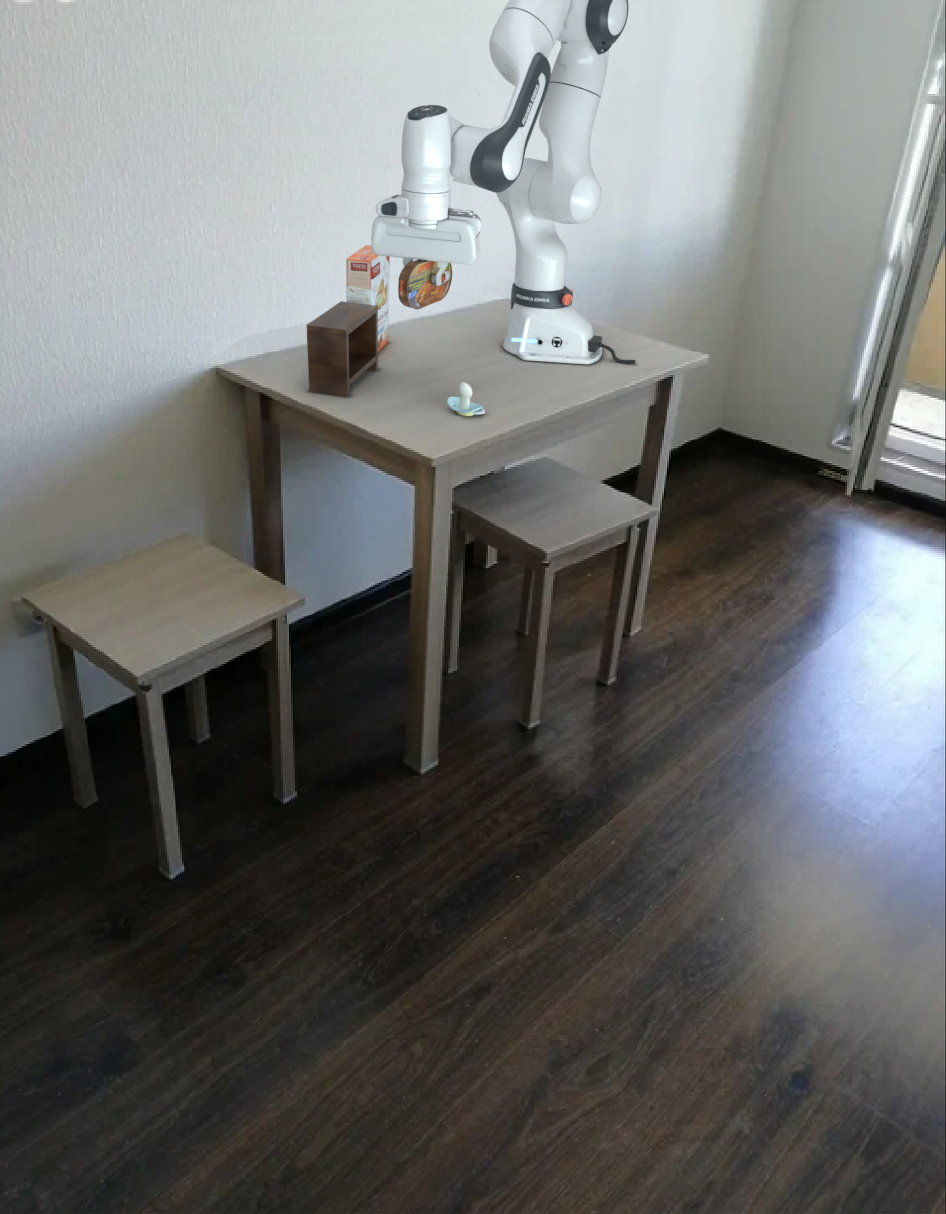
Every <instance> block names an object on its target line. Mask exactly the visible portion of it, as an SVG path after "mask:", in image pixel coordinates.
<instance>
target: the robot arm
mask: <svg viewBox="0 0 946 1214" xmlns="http://www.w3.org/2000/svg"><path fill="white" fill-rule="evenodd" d="M628 16H629V0H509V1H508V2H507V3H506V5H505V7H504V9H503V10H502V12H501V14H500V16H499V17H498V19H497V21H496V23H495V25H494V27H493V29H492V31H491V34H490V37H489V41H488V48H489V55H490V58H491V61H492V64H493V65H494V67H495V69H496V70H497V71H498V73H499V74H500V75H501V76H502V77H503V79H504V80H506V81H507V82H508V83H509V84H511V85H512V86H513V87H514V91H513V93H512V95H511V98H510V101H509V103H508V106H507V108H506V111H505V113H504V116H503V119H502V121H501V123H500V124H497V126H494V127H490V128H485V127H480V126H479V127H478V126H472V125H468V124H464V123H463V122H460V121H459V120H457V119H456V118H454V117H453V116H452V115H451V114H450V112H449V110H448V108H447V107H445V106H443V105H440V104H429V105H427V104H426V105H419V106H416V107H414V108H412V109H410V110H409V111H408V112H407V113H406V114H405V118H404V121H403V125H402V135H401V165H402V169H403V178H402V182H401V194H395V195H392V196H389V197H386V198H384V199H382V200H380V201H378V203H376V204H375V212H376V214H377V216H376V217H375V218H374V219H373V222H372V227H371V237H370V243H371V244H370V246H371V249H372V251H373V252H374V254H375V255H380V256H390V258H399V259H400V258H401V259H402V265H403V268H404V267H405V265H407V264H408V263H410V262H413V261H414V260H427V261H437V267H438V268H440V270H439V271H438V273H437V274H433V275H432V277H431V280H432V282H431V285H434V286H440V285H441V275H442V274H443V272H444V271H445V269H446V267H447V266H448V263H451V264H457V265H466V266H472V265H473V264H475V263H476V262H477V261H478V260H479V258H480V238H479V235H480V234H481V231H482V230H481V229H482V228H481V227H482V220H481V217H480V216H479V215H478V214H477V213H475V212H474V211H473V210H469V209H466V210H464V209H459V208H451V189H452V187H451V183H450V181H452V182H455V183H459V184H463V185H468V186H473V187H477V188H480V189H483V190H486V191H489V192H492V193H495V194H496V197H497V199H498V201H499V202H500V204H501V205H502V206H503V208H504V210H505V211H506V213H507V216H508V219H509V221H510V224H511V228H512V233H513V237H514V243H515V245H514V246H515V266H514V267H515V268H514V282H513V283H512V285H511V290H510V302H509V303H510V304H509V305H510V318H509V323H508V327H507V331H506V335H505V337H504V340H503V343H502V348H503V350H505V351H507V352H509V353H510V354H512V355H516V356H517V357H518V358H519V359H521V360H523V361H532V362H545V363H559V364H576V365H591V364H594V363H596V362H598V361H599V360H600V359H601V358H602V355H603V349H605V350H607V351H608V352H610V354H611V357H612V359H613V361H615V362H617V363H618V364H632V365H633V364H636V359H621V358H618V356H616V355H617V354H616V351H615V350H614V349H613V348H612V347H611V346H609V345H607V344H605V343H603V336H601V335H596V334H594V329H593V325H592V323H591V322H590V320H588V318H586V317H585V316H584V315H583V314H582V313H581V312H580V311H579V310H578V309H577V308H576V307H574V305H572V304H573V297H574V296H573V295H574V290H573V288H571V289H570V288H569V287H567V285H565V284H566V274H567V265H568V264H567V263H568V249H567V246H566V244H565V243H564V242H563V240H562V239H561V238H560V236H559V235H558V233H557V230H556V226H555V223H559V224H563V225H579V224H580V225H581V224H586V223H588V222H590V221H591V220H592V219H593V218H594V217H595V215H596V214H597V212H598V211H599V208H600V205H601V201H602V188H601V184H600V182H599V180H598V178H597V176H596V174H595V172H594V170H593V165H592V159H591V140H592V133H593V129H594V124H595V121H596V117H597V113H598V110H599V106H600V102H601V98H602V94H603V91H604V86H605V83H606V82H605V81H606V77H607V70H608V63H609V52H610V49H611V47H612V46H613V45H614V44H615V43H616V42H617V40H618V39H619V38H620V36H621V35H622V33H623V32H624V29H625V27H626V25H627V22H628V18H629V17H628ZM557 42H560V49H559V51H558V53H557V56H556V58H555V62H554V64H553V67H551V63H550V61H549V57H550V54H551V52H552V50H553V48H554V47H555V45H556V43H557ZM538 117H539V118H538ZM537 121H538V127H539V130H540V133H541V134H542V135H543V137H544V138H545V139H546V142H547V148H548V153H547V160H540V159H536V158H531V157H525V155H526V152H527V151H526V150H527V147H528V144H529V141H530V139H531V136H532V134H533V131H534V129H535V126H536V123H537Z"/></svg>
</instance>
